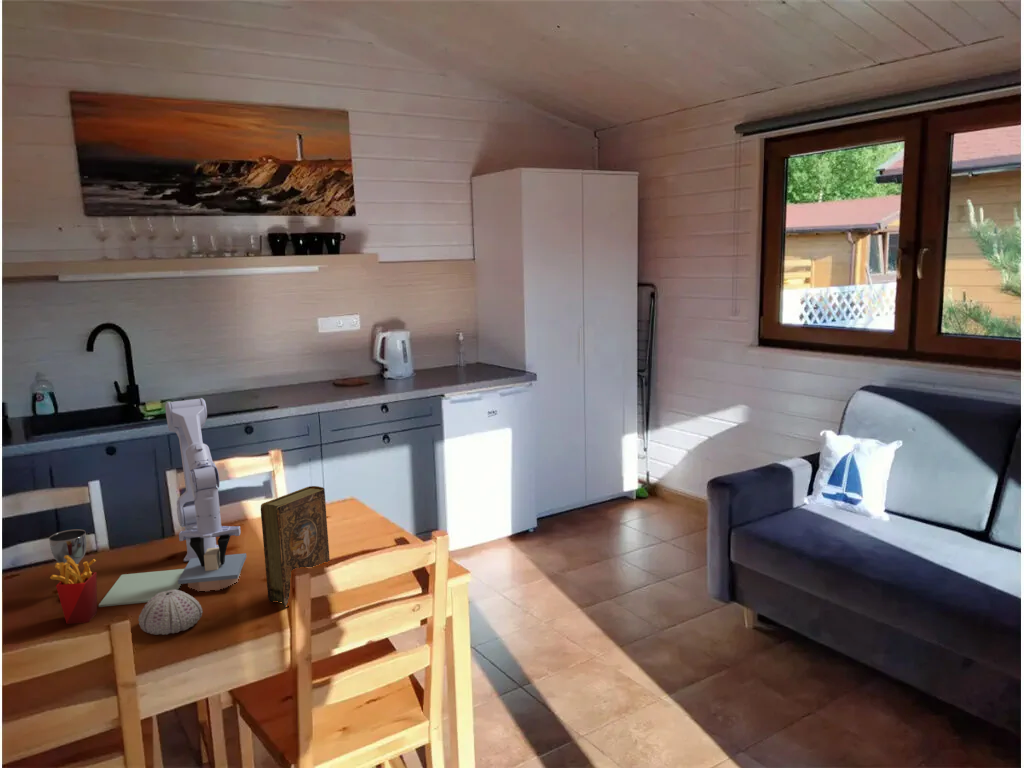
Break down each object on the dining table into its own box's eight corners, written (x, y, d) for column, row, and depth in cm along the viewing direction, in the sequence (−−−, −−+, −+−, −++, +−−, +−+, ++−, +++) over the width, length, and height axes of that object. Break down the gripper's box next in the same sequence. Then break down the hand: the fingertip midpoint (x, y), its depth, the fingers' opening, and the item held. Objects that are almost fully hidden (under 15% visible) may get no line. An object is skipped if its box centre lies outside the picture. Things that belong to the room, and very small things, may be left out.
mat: (121, 576, 204) (121, 574, 204) (190, 570, 207) (189, 568, 207) (98, 607, 187) (98, 605, 187) (173, 599, 190) (173, 597, 190)
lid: (191, 561, 205) (189, 544, 204) (246, 556, 207) (244, 539, 206) (178, 584, 191) (176, 565, 190) (237, 578, 194) (235, 559, 193)
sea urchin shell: (146, 616, 182) (143, 584, 180) (208, 609, 184) (204, 577, 183) (133, 644, 169) (128, 609, 167) (199, 635, 172) (195, 601, 170)
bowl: (195, 573, 205) (194, 563, 204) (242, 569, 207) (241, 558, 206) (184, 593, 193) (183, 582, 192) (235, 588, 195) (234, 577, 194)
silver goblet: (56, 601, 191) (48, 543, 188) (57, 589, 198) (49, 533, 195) (92, 593, 194) (85, 536, 192) (93, 582, 201) (85, 527, 199)
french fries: (103, 610, 185) (95, 550, 182) (88, 626, 177) (80, 564, 174) (63, 613, 184) (55, 553, 181) (47, 630, 176) (38, 567, 173)
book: (319, 578, 199) (311, 485, 195) (334, 583, 196) (327, 488, 192) (268, 604, 186) (259, 504, 181) (284, 609, 183) (275, 507, 178)
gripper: (173, 521, 191) (179, 573, 194) (235, 516, 194) (240, 567, 196) (180, 511, 198) (186, 562, 201) (239, 507, 201) (244, 556, 203)
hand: (213, 564), depth 199 cm, fingers open, 4 cm apart
